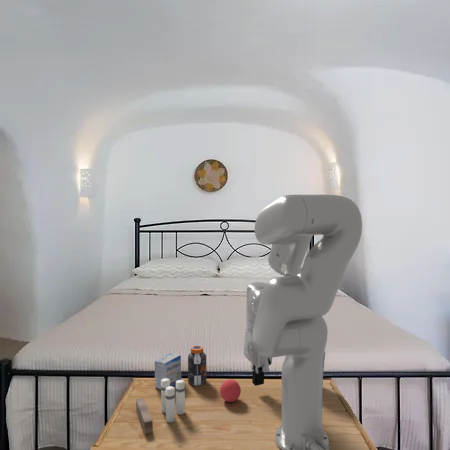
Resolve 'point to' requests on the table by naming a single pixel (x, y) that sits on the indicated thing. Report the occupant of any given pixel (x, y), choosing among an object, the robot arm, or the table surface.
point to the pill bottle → (197, 366)
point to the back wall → (144, 416)
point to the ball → (230, 390)
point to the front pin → (180, 397)
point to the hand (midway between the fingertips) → (258, 383)
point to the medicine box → (168, 369)
